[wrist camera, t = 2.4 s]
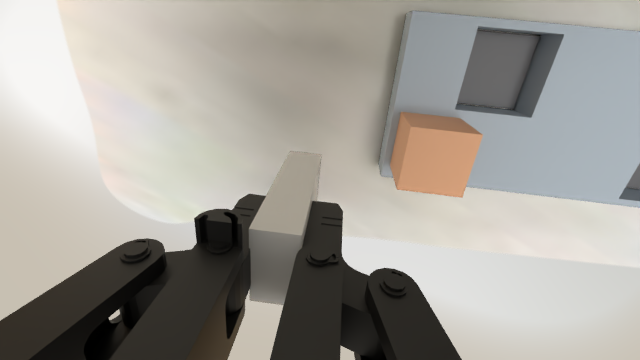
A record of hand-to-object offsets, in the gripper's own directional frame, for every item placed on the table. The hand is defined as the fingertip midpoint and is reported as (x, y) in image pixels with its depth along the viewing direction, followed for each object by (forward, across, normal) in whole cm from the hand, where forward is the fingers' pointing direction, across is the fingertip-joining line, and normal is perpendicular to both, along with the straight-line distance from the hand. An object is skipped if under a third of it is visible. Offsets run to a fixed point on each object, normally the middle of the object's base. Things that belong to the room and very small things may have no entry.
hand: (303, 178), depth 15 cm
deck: (+10, +20, +3) cm, 23 cm away
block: (+8, +8, 0) cm, 11 cm away
